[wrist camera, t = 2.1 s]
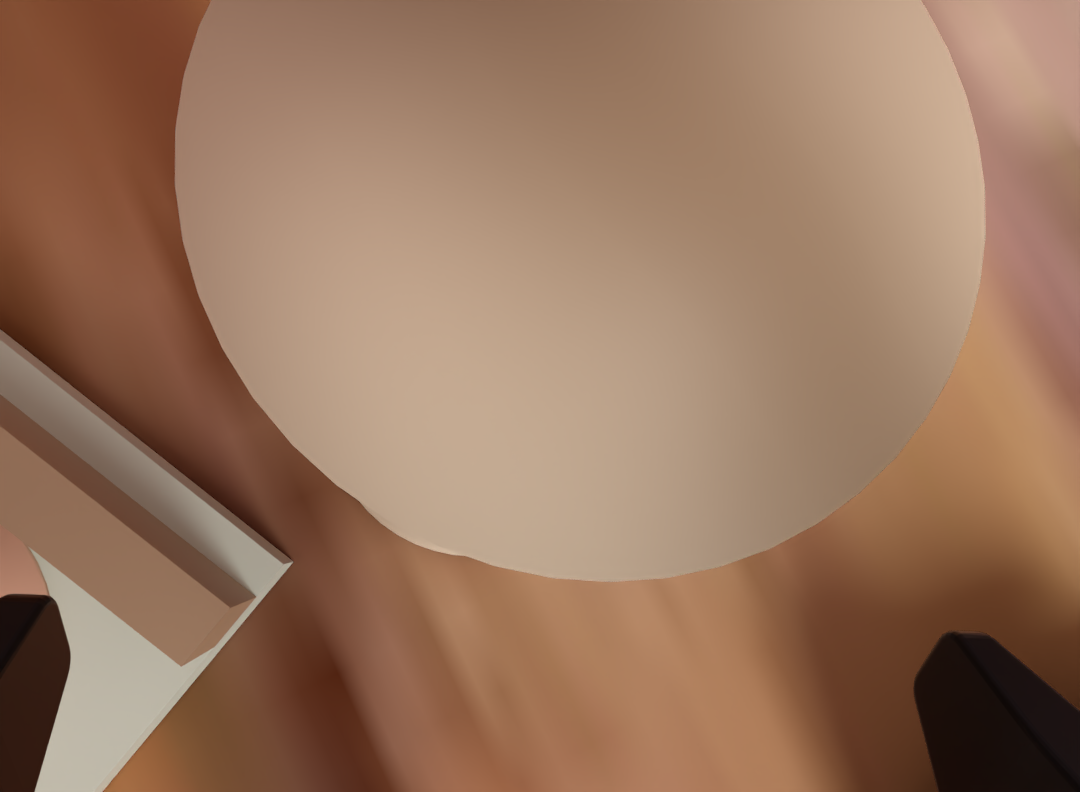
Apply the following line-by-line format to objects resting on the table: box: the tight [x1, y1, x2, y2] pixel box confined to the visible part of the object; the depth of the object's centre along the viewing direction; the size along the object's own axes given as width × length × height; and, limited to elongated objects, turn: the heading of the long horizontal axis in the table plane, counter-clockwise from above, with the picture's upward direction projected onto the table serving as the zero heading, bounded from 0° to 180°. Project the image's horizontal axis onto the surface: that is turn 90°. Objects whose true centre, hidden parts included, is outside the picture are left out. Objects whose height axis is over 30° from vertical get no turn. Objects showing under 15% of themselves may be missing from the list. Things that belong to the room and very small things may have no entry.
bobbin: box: [175, 0, 986, 582], centre depth 13 cm, size 6×6×14 cm
